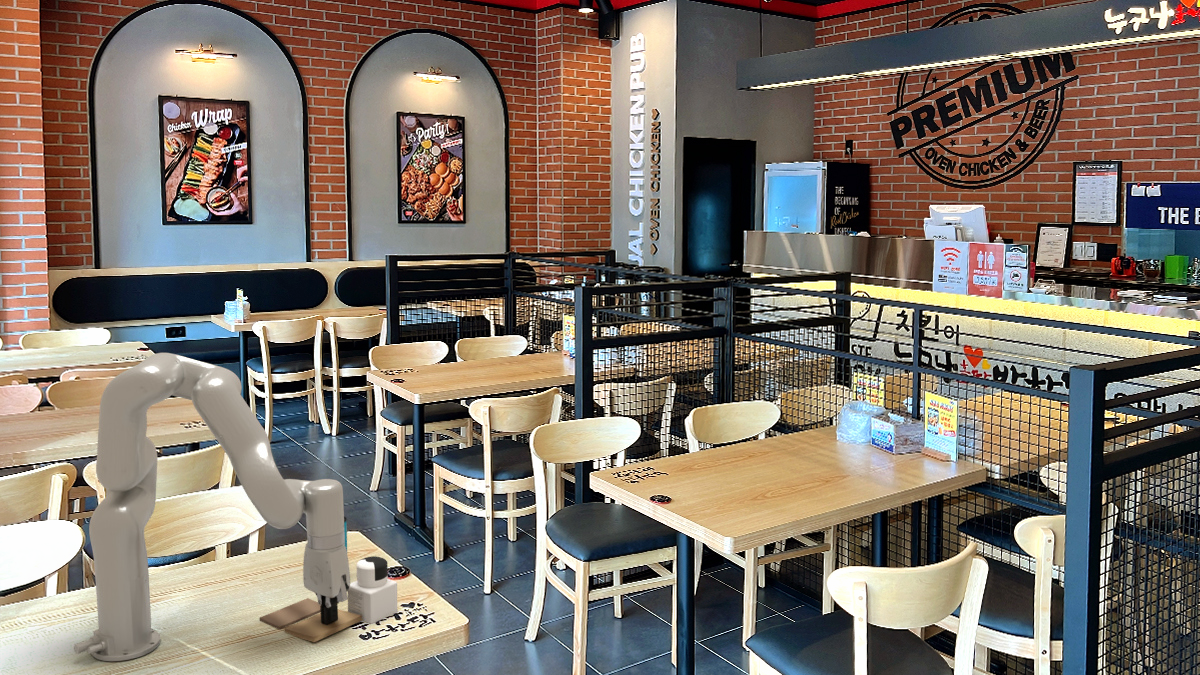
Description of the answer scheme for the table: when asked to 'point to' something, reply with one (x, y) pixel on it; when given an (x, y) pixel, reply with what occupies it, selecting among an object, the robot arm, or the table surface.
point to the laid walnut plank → (292, 613)
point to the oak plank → (322, 626)
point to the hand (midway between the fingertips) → (329, 621)
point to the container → (372, 591)
